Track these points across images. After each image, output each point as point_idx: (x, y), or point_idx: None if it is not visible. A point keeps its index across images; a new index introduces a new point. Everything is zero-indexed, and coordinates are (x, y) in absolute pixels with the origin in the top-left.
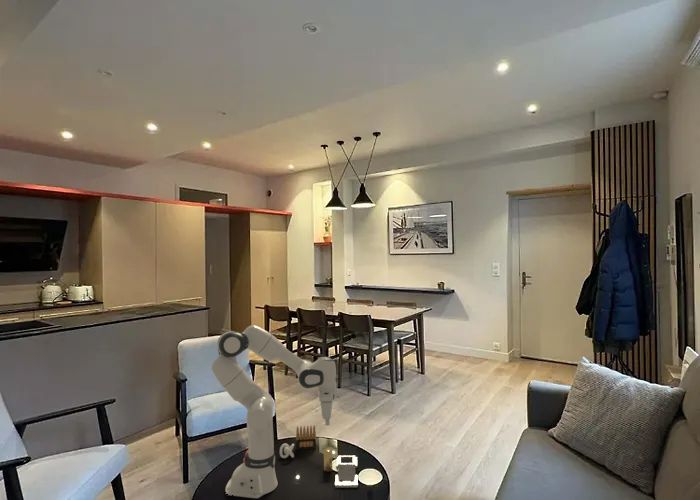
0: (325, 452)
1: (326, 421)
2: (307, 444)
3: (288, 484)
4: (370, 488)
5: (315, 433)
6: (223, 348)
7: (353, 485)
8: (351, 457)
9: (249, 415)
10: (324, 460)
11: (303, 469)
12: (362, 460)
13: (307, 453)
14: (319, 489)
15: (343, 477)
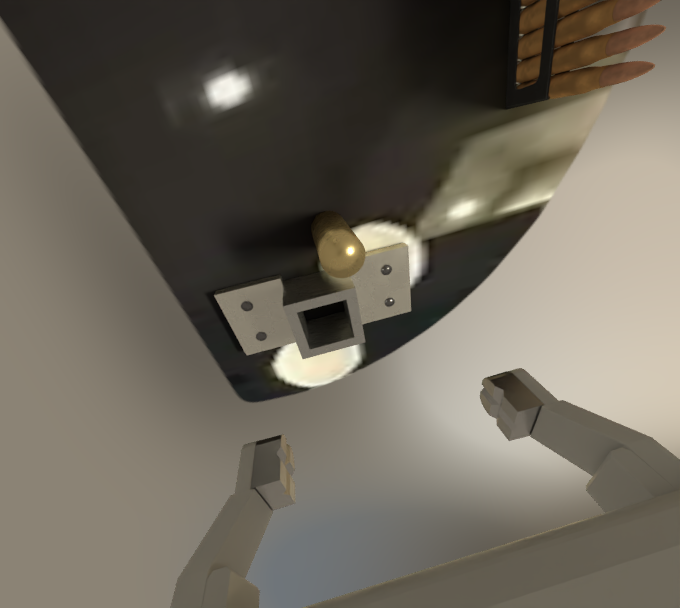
0: (321, 250)
1: (231, 510)
2: (528, 42)
3: (130, 52)
4: (257, 376)
5: (581, 92)
6: None
7: (241, 344)
8: (353, 332)
9: None
10: (320, 229)
11: (302, 101)
12: (401, 322)
13: (459, 69)
14: (177, 239)
15: (272, 307)
